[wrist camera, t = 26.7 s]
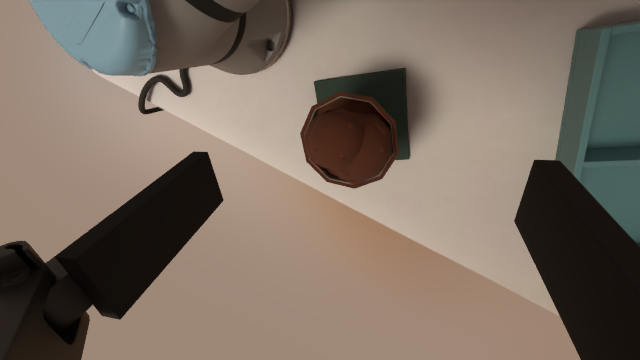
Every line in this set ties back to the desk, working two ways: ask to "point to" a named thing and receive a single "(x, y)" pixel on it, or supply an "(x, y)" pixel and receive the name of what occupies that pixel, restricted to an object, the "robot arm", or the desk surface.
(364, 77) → the mat
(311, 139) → the ice cream bowl
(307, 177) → the desk surface
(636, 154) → the divided tray
